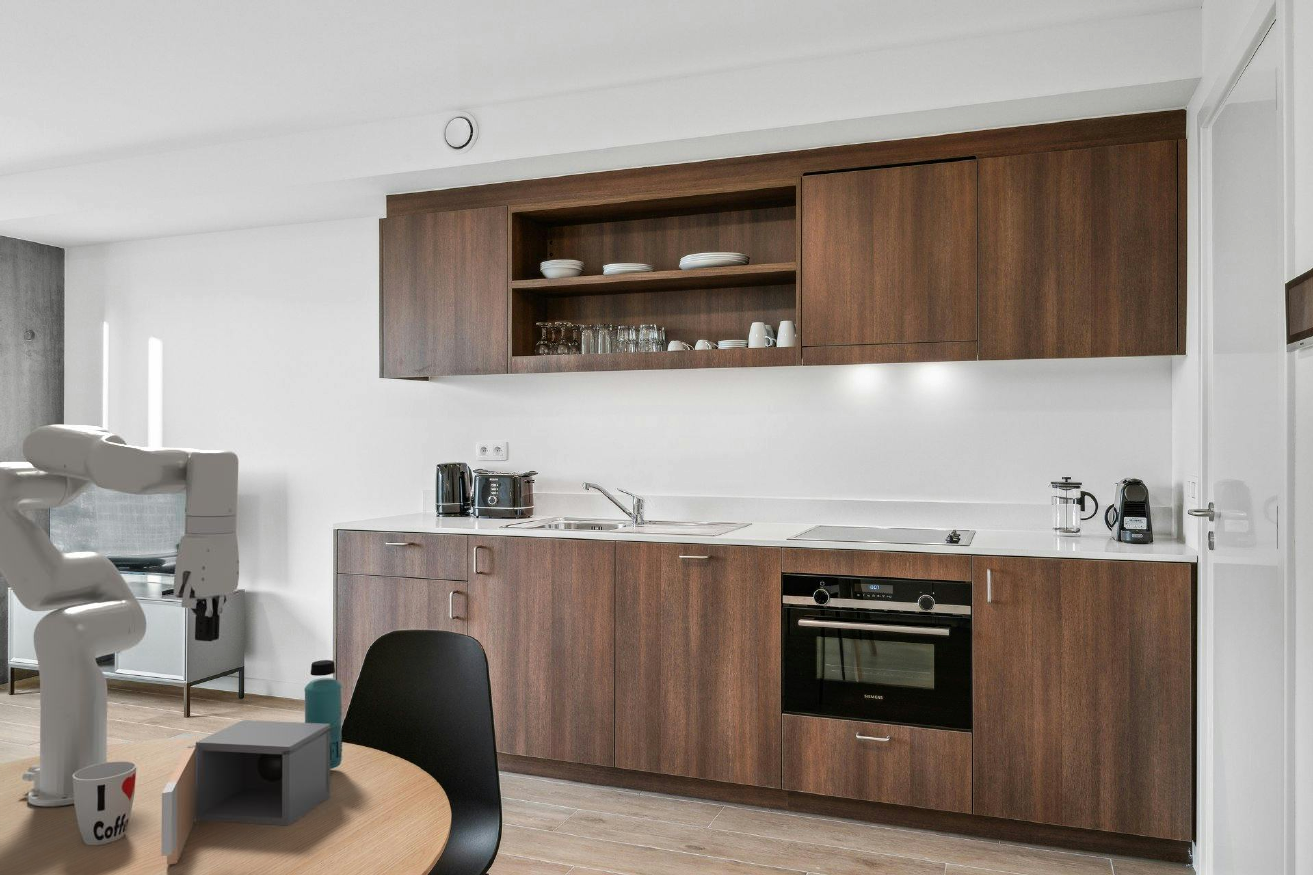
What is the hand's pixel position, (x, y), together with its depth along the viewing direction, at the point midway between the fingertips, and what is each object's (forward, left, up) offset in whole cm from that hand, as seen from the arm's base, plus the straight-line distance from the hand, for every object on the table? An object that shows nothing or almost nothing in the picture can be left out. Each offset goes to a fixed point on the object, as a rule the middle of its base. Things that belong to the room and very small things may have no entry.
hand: (206, 639), depth 143 cm
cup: (-8, -12, -28) cm, 31 cm away
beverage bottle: (+10, +18, -28) cm, 34 cm away
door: (+6, -13, -27) cm, 30 cm away
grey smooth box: (+9, +2, -27) cm, 29 cm away
